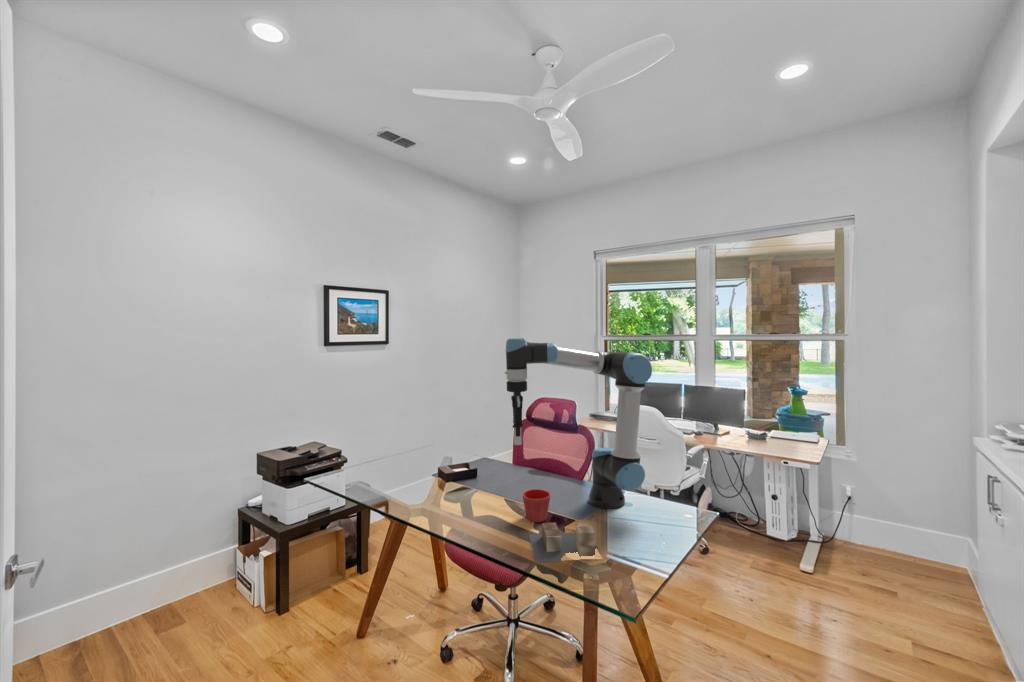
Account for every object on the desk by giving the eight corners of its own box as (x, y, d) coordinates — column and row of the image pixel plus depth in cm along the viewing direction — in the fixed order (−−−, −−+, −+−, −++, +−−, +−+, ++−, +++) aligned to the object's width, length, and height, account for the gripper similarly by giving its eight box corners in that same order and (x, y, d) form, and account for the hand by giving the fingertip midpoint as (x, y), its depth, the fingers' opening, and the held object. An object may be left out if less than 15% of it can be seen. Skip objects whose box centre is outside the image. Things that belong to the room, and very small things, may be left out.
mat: (588, 532, 166) (588, 531, 166) (603, 559, 147) (603, 558, 147) (528, 535, 165) (528, 534, 165) (536, 563, 145) (536, 562, 145)
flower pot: (549, 524, 174) (548, 499, 174) (520, 522, 176) (520, 497, 176) (552, 513, 184) (551, 489, 184) (525, 512, 186) (525, 488, 186)
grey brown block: (561, 551, 152) (555, 536, 163) (561, 536, 152) (555, 522, 163) (546, 552, 152) (542, 537, 163) (546, 537, 152) (541, 523, 162)
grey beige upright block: (591, 549, 153) (590, 525, 153) (595, 556, 148) (594, 532, 148) (576, 550, 152) (576, 526, 152) (579, 557, 147) (579, 533, 147)
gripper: (505, 378, 173) (506, 440, 174) (507, 382, 160) (509, 449, 161) (525, 378, 174) (526, 439, 174) (529, 382, 161) (530, 448, 162)
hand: (517, 444), depth 168 cm, fingers closed
